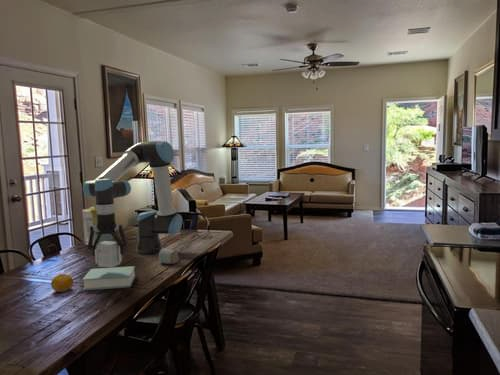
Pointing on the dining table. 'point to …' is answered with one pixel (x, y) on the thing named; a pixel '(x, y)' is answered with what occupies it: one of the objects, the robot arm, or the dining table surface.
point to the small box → (108, 254)
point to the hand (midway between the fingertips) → (108, 261)
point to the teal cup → (103, 237)
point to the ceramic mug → (168, 256)
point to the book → (109, 278)
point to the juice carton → (89, 223)
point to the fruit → (62, 282)
